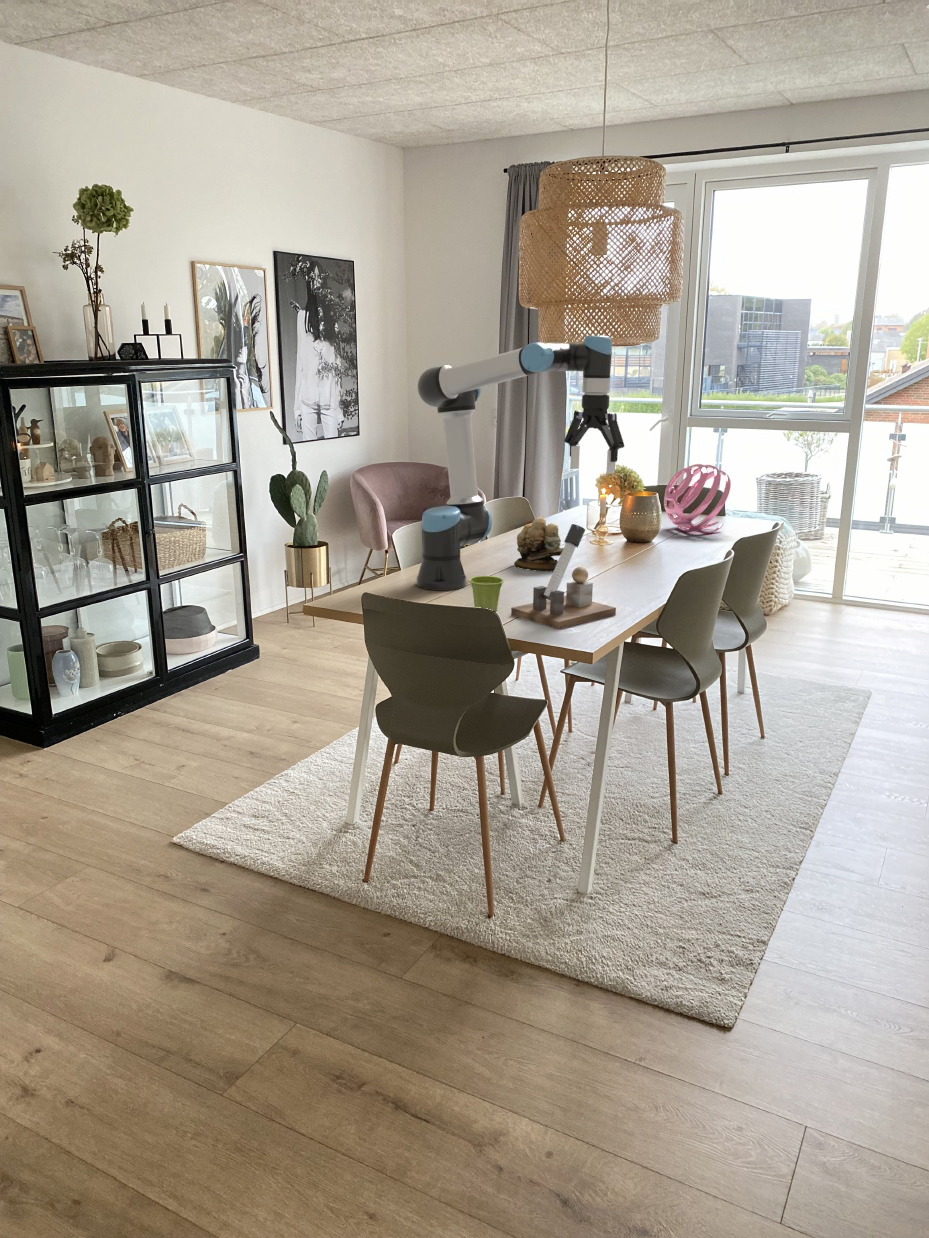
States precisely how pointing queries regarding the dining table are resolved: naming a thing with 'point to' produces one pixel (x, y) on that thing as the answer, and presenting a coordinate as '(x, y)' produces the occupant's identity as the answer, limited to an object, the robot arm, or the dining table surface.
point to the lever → (564, 558)
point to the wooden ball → (579, 574)
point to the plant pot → (486, 591)
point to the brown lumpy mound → (538, 546)
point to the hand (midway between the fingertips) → (592, 471)
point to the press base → (564, 607)
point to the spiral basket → (691, 495)
